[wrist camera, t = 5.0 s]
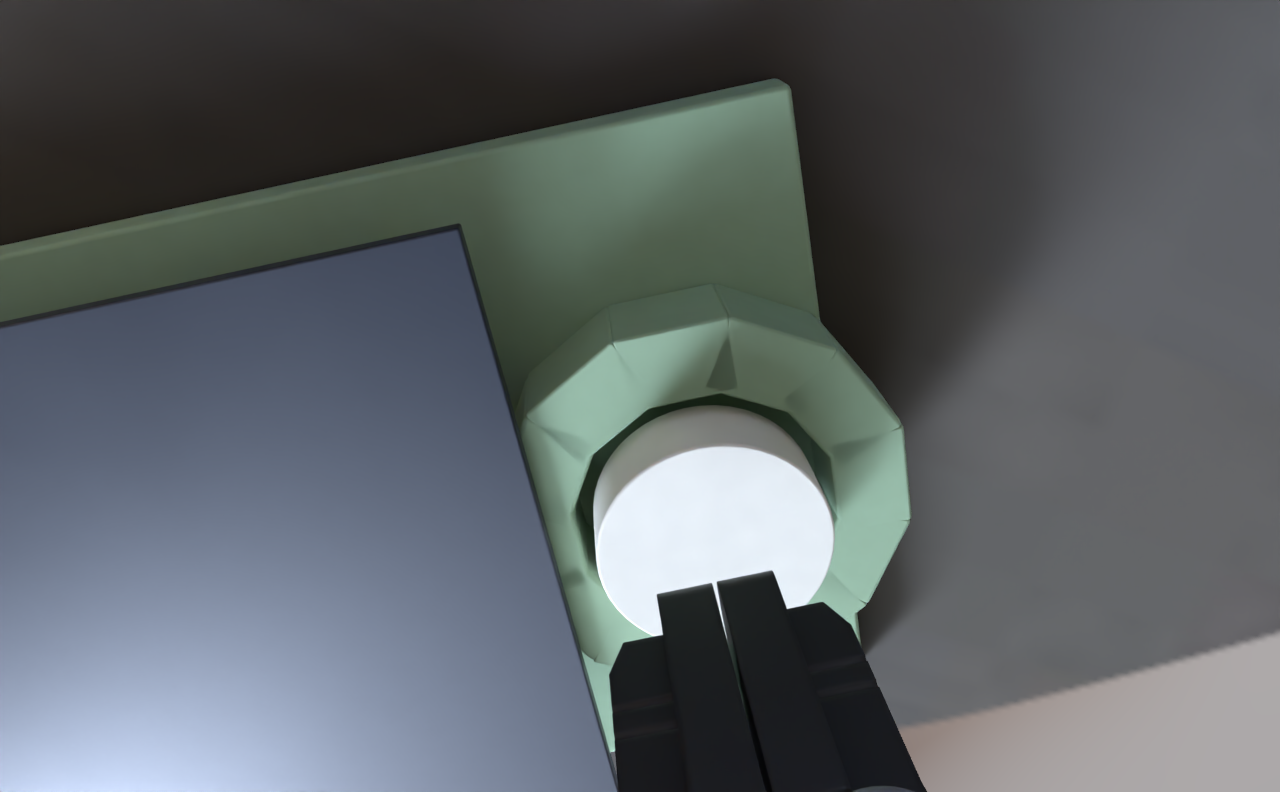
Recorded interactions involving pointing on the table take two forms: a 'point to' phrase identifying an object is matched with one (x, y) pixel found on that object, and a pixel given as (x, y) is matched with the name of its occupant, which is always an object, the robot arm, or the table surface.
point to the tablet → (581, 304)
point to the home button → (708, 511)
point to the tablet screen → (282, 542)
